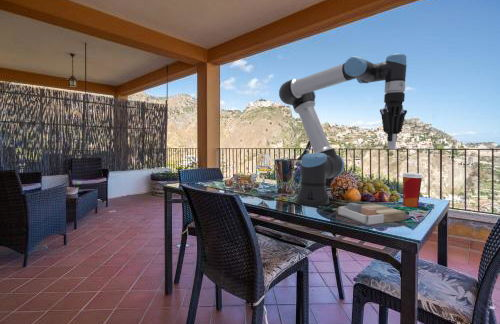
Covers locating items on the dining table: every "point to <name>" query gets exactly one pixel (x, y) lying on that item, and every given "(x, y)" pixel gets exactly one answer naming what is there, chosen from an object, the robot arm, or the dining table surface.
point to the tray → (360, 216)
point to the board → (387, 212)
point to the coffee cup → (411, 189)
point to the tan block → (368, 211)
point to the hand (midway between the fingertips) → (391, 149)
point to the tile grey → (354, 207)
